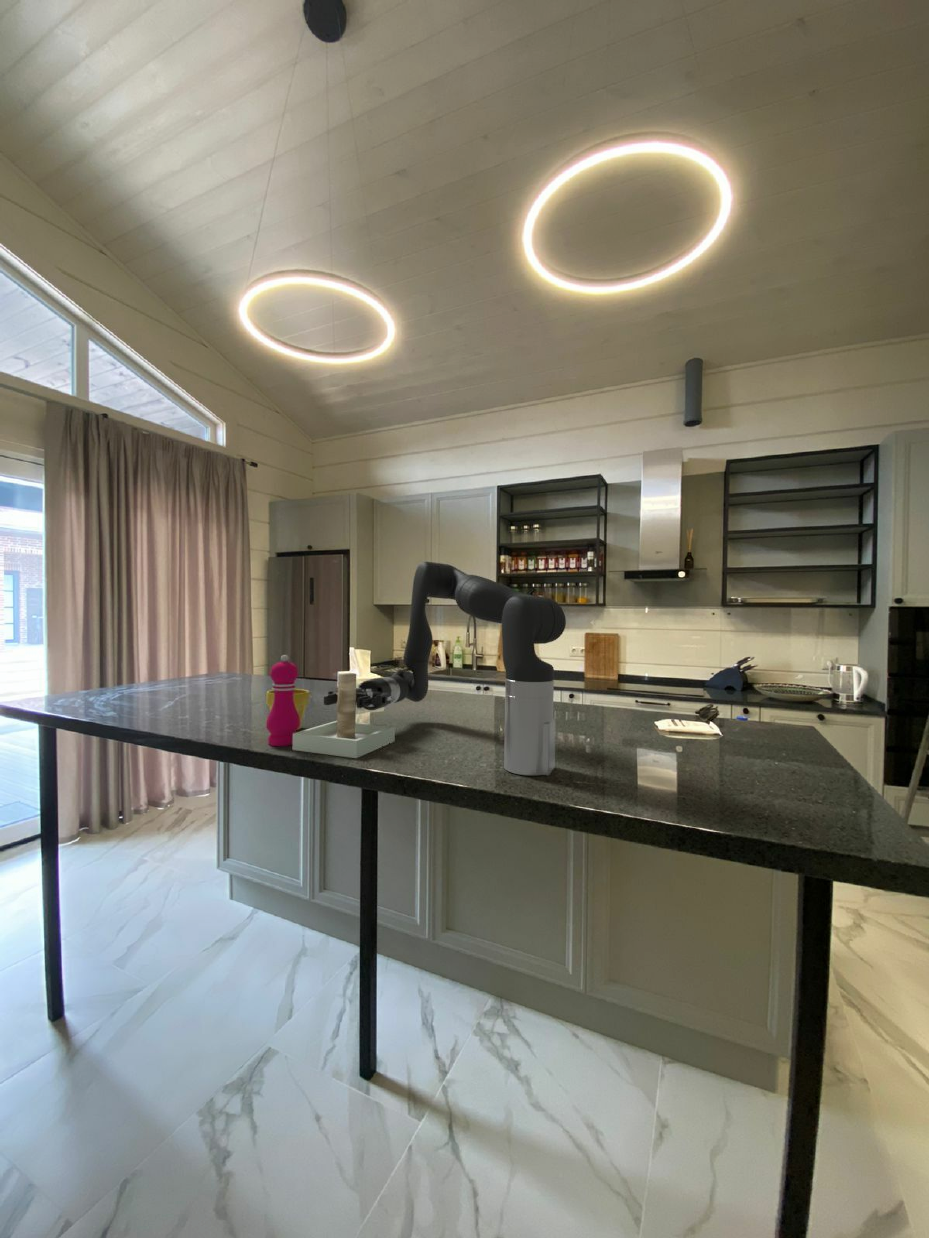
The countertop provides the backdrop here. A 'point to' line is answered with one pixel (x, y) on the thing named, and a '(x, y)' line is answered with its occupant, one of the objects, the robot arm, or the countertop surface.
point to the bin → (343, 739)
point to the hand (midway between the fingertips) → (341, 701)
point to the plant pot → (299, 701)
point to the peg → (346, 705)
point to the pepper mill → (283, 704)
